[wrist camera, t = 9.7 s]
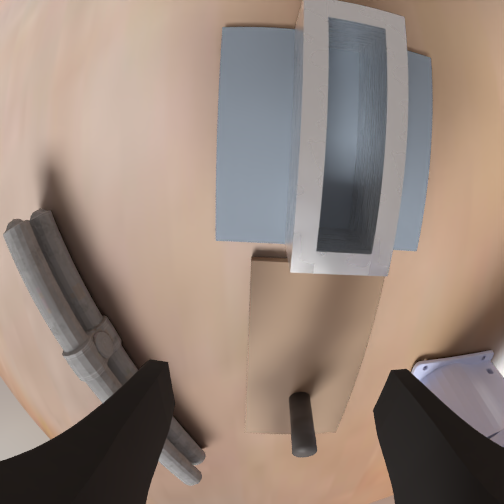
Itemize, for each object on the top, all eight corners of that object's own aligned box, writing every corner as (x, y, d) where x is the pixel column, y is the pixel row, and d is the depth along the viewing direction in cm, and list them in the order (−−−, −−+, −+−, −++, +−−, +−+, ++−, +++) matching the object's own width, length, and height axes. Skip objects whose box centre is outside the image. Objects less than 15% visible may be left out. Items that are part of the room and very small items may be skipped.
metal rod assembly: (210, 446, 25) (203, 487, 20) (186, 448, 25) (177, 487, 20) (59, 198, 16) (10, 217, 12) (36, 213, 17) (-11, 234, 12)
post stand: (383, 262, 17) (423, 309, 12) (334, 427, 22) (343, 477, 17) (251, 256, 17) (245, 307, 12) (245, 427, 23) (240, 480, 17)
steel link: (375, 41, 12) (404, 17, 8) (362, 247, 16) (387, 276, 12) (294, 28, 12) (303, -5, 8) (284, 242, 16) (290, 272, 13)
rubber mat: (427, 59, 12) (430, 58, 12) (413, 248, 16) (416, 251, 16) (223, 29, 13) (222, 27, 12) (216, 238, 17) (215, 240, 16)
